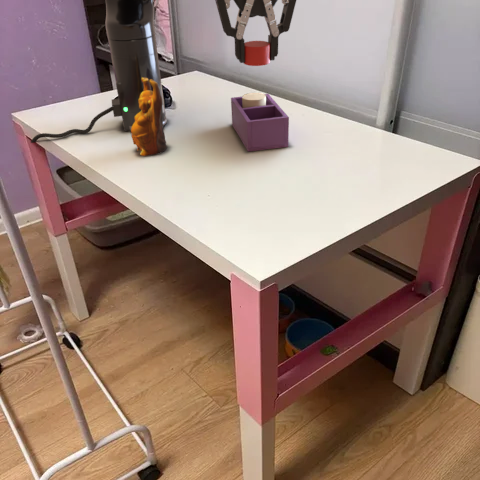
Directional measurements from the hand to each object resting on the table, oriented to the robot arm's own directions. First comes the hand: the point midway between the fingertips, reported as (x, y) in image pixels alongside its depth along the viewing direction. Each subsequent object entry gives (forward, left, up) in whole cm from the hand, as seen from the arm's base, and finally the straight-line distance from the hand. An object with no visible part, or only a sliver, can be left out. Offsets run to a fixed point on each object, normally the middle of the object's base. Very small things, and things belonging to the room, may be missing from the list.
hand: (256, 60), depth 91 cm
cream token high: (+1, +8, -11) cm, 14 cm away
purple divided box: (+1, +4, -15) cm, 16 cm away
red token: (0, 0, 0) cm, 0 cm away
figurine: (-21, +3, -15) cm, 26 cm away
